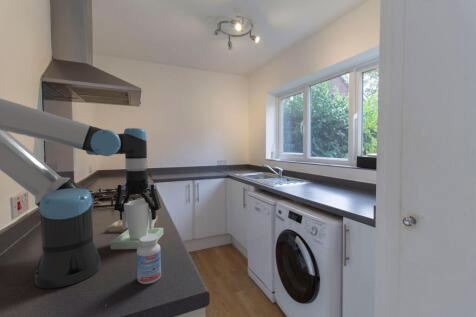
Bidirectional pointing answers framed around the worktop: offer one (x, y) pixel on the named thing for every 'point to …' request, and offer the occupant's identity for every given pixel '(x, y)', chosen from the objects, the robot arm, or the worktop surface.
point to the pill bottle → (148, 259)
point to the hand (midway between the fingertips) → (138, 228)
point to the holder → (117, 228)
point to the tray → (128, 243)
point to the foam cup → (137, 218)
